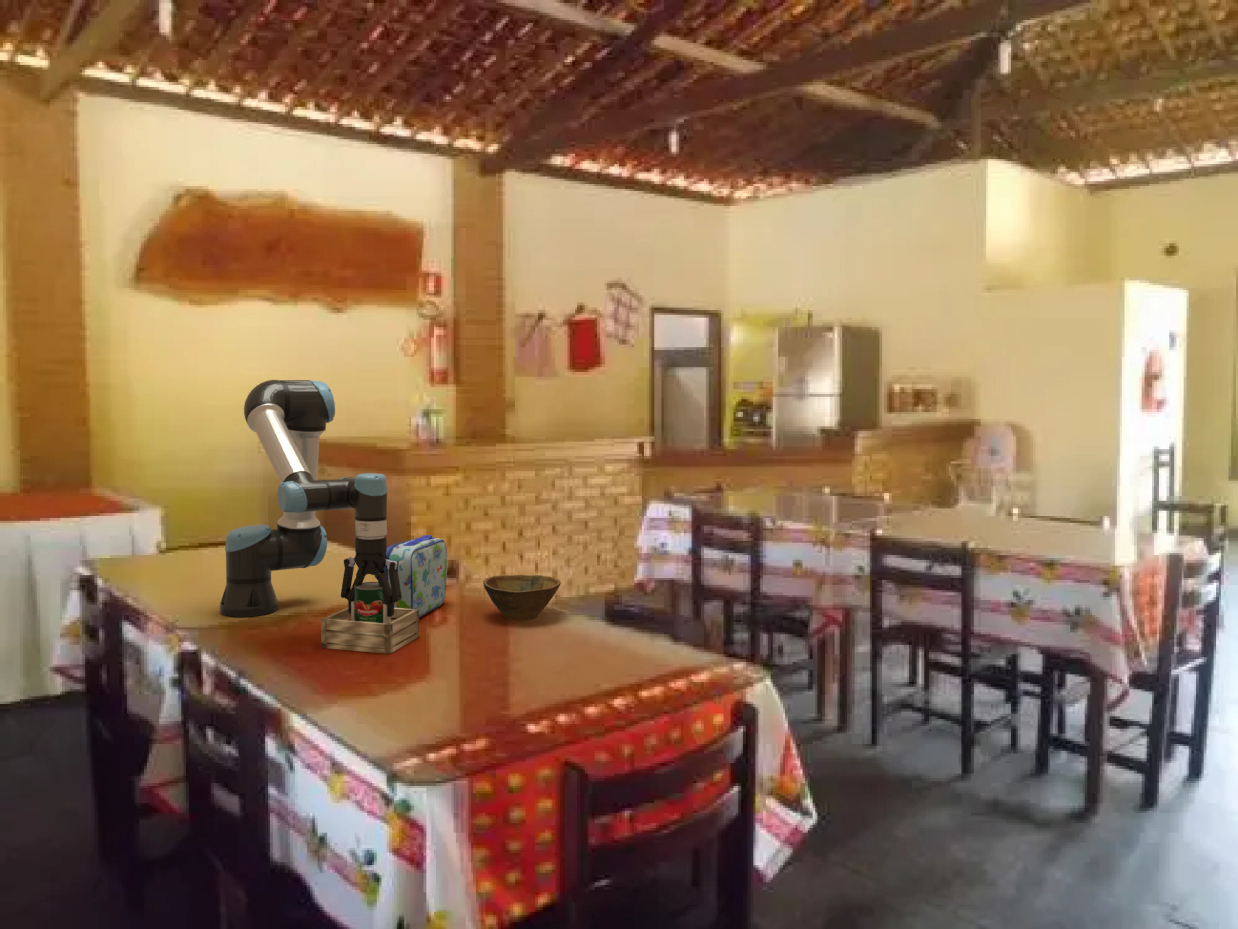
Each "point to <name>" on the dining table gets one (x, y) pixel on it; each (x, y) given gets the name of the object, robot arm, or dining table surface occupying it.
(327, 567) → the dining table surface
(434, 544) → the lunch box
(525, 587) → the bowl
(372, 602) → the canned tomato
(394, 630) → the crate
